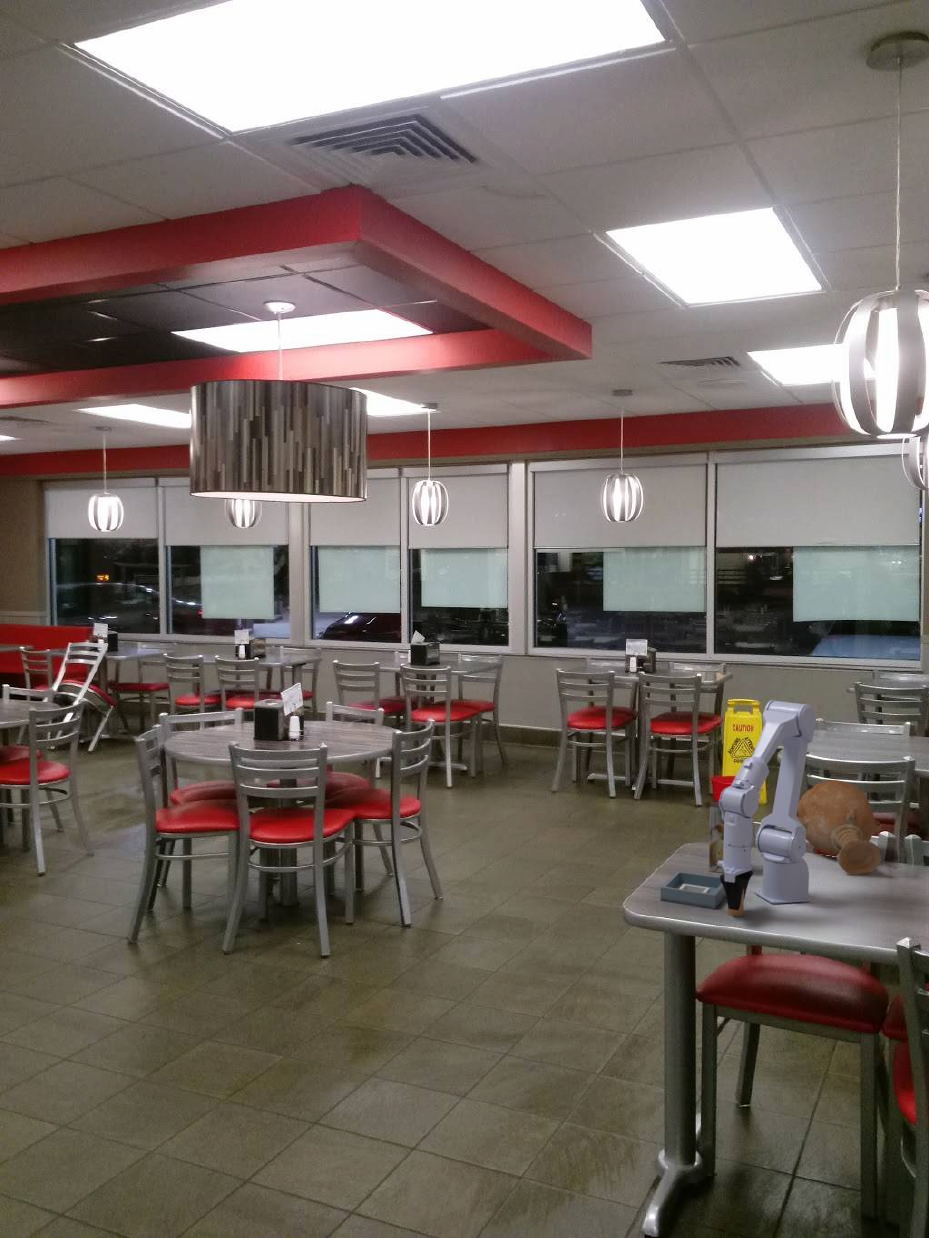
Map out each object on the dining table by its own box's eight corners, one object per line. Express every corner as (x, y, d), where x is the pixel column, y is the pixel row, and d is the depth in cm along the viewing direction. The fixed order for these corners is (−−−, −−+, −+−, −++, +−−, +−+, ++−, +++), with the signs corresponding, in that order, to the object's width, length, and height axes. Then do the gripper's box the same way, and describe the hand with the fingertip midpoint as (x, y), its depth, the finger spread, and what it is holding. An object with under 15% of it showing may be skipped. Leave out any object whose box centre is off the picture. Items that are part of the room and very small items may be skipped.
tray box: (677, 883, 241) (677, 870, 241) (728, 891, 235) (729, 878, 235) (660, 900, 228) (660, 887, 228) (714, 909, 223) (715, 895, 223)
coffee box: (747, 868, 254) (749, 803, 253) (746, 875, 248) (748, 809, 247) (709, 864, 257) (711, 800, 256) (707, 871, 251) (709, 806, 250)
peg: (738, 911, 222) (739, 879, 221) (746, 916, 219) (746, 883, 218) (725, 912, 221) (725, 880, 221) (732, 917, 218) (733, 884, 218)
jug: (877, 801, 276) (923, 845, 247) (830, 854, 279) (869, 903, 250) (820, 757, 275) (859, 795, 245) (774, 811, 278) (806, 855, 248)
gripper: (726, 833, 227) (724, 894, 228) (710, 849, 214) (709, 913, 215) (758, 837, 224) (756, 899, 225) (745, 853, 211) (743, 919, 212)
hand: (735, 906), depth 220 cm, fingers closed on peg, 3 cm apart
